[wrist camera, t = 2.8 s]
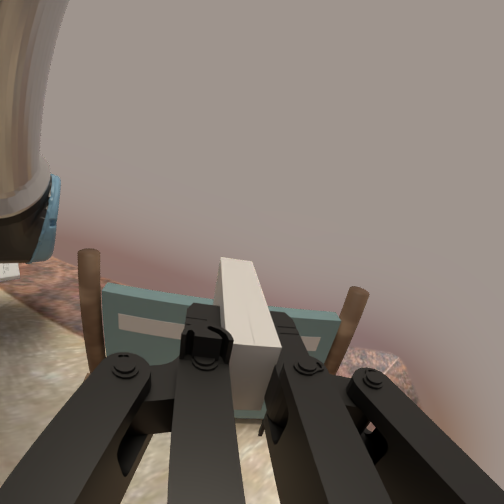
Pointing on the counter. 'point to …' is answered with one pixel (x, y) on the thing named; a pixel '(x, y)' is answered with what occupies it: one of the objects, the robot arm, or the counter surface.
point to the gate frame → (94, 328)
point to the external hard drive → (9, 271)
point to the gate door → (173, 321)
